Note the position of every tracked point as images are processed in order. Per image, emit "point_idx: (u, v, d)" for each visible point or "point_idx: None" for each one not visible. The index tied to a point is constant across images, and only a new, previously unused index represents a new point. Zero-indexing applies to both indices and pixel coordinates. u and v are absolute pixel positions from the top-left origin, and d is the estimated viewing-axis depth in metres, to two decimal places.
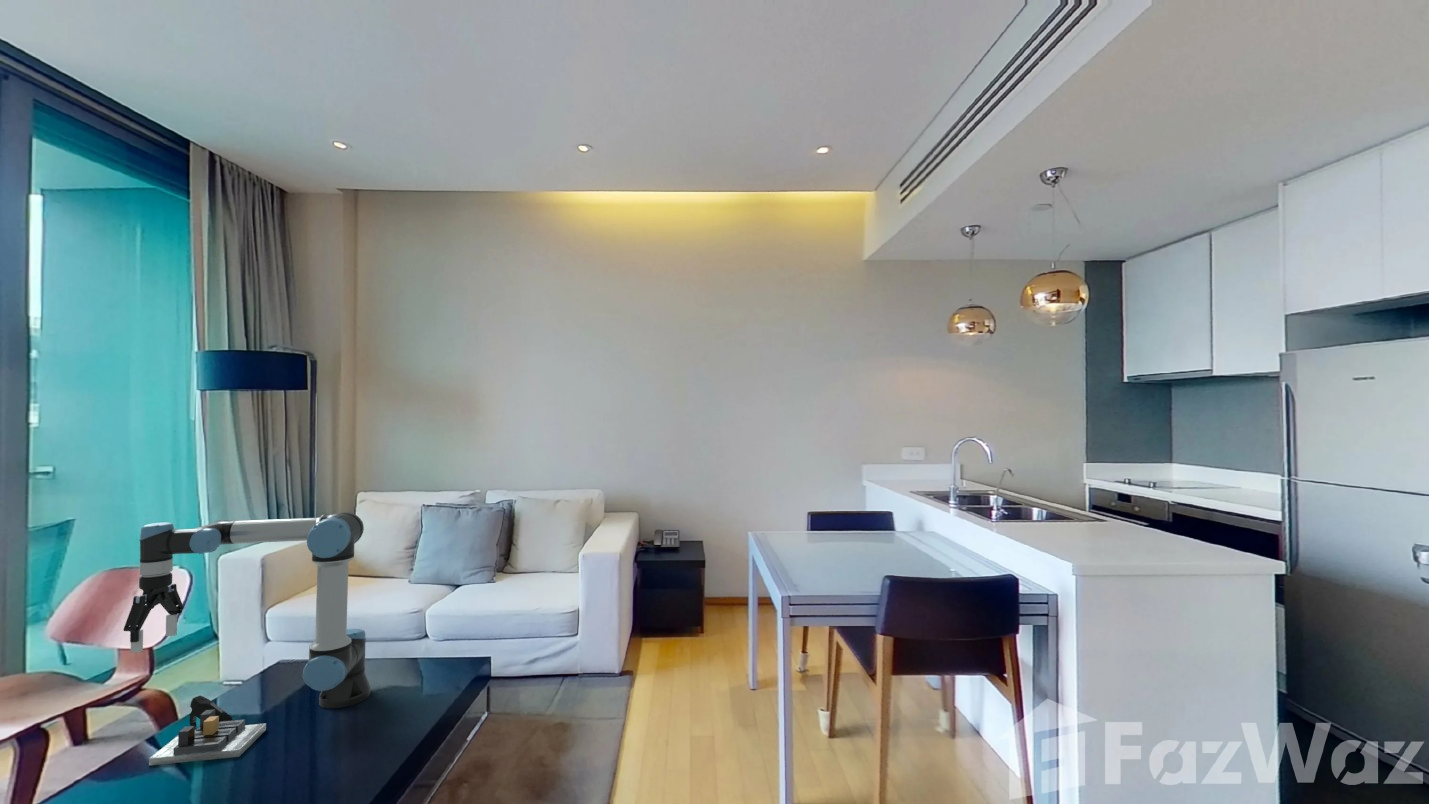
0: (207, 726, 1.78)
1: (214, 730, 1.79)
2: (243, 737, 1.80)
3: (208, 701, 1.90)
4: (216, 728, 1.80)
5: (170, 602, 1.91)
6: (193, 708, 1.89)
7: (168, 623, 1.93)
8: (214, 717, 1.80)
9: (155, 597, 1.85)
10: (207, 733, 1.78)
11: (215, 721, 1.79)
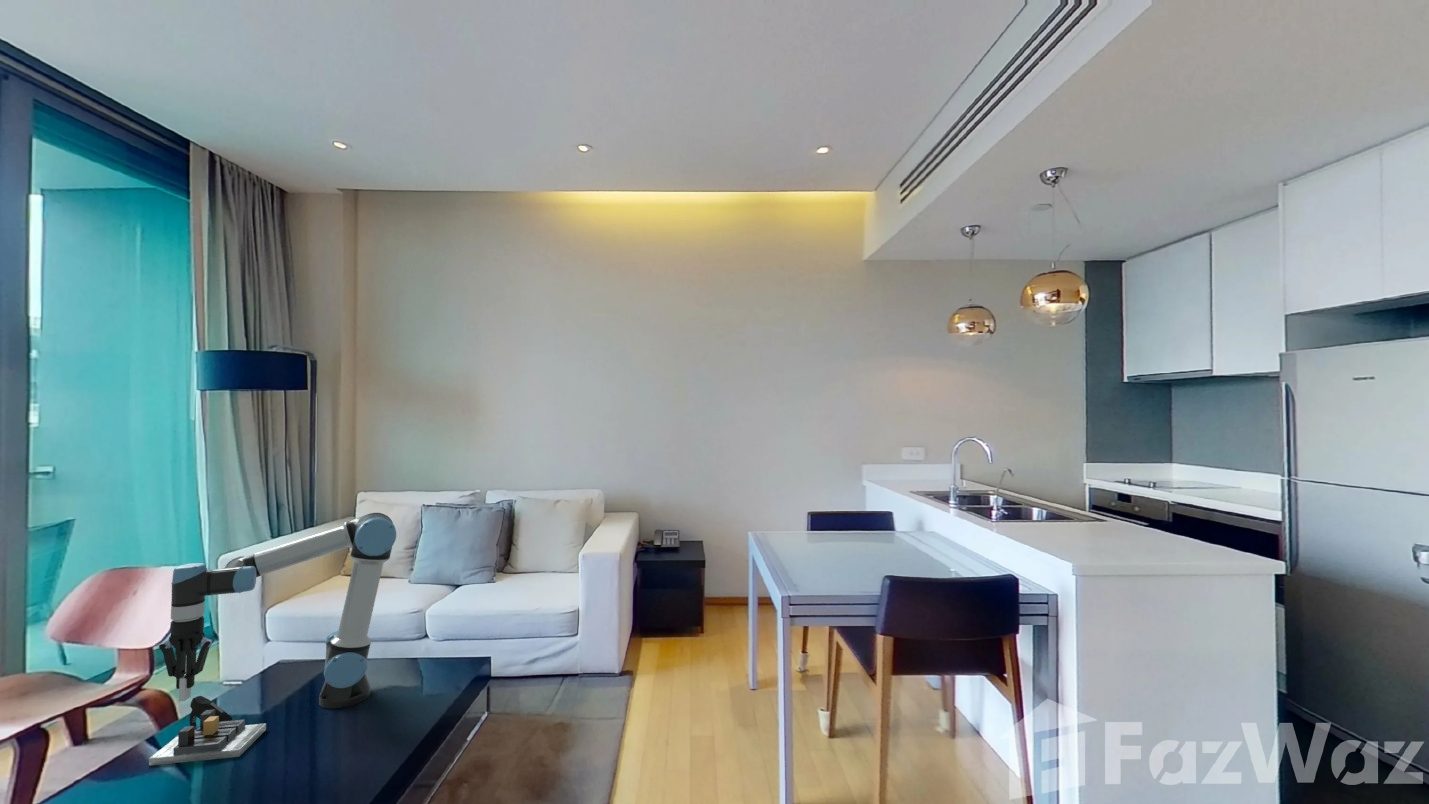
0: (207, 726, 1.78)
1: (214, 730, 1.79)
2: (243, 737, 1.80)
3: (208, 701, 1.90)
4: (216, 728, 1.80)
5: (188, 657, 1.77)
6: (193, 708, 1.89)
7: None
8: (214, 717, 1.80)
9: None
10: (207, 733, 1.78)
11: (215, 721, 1.79)
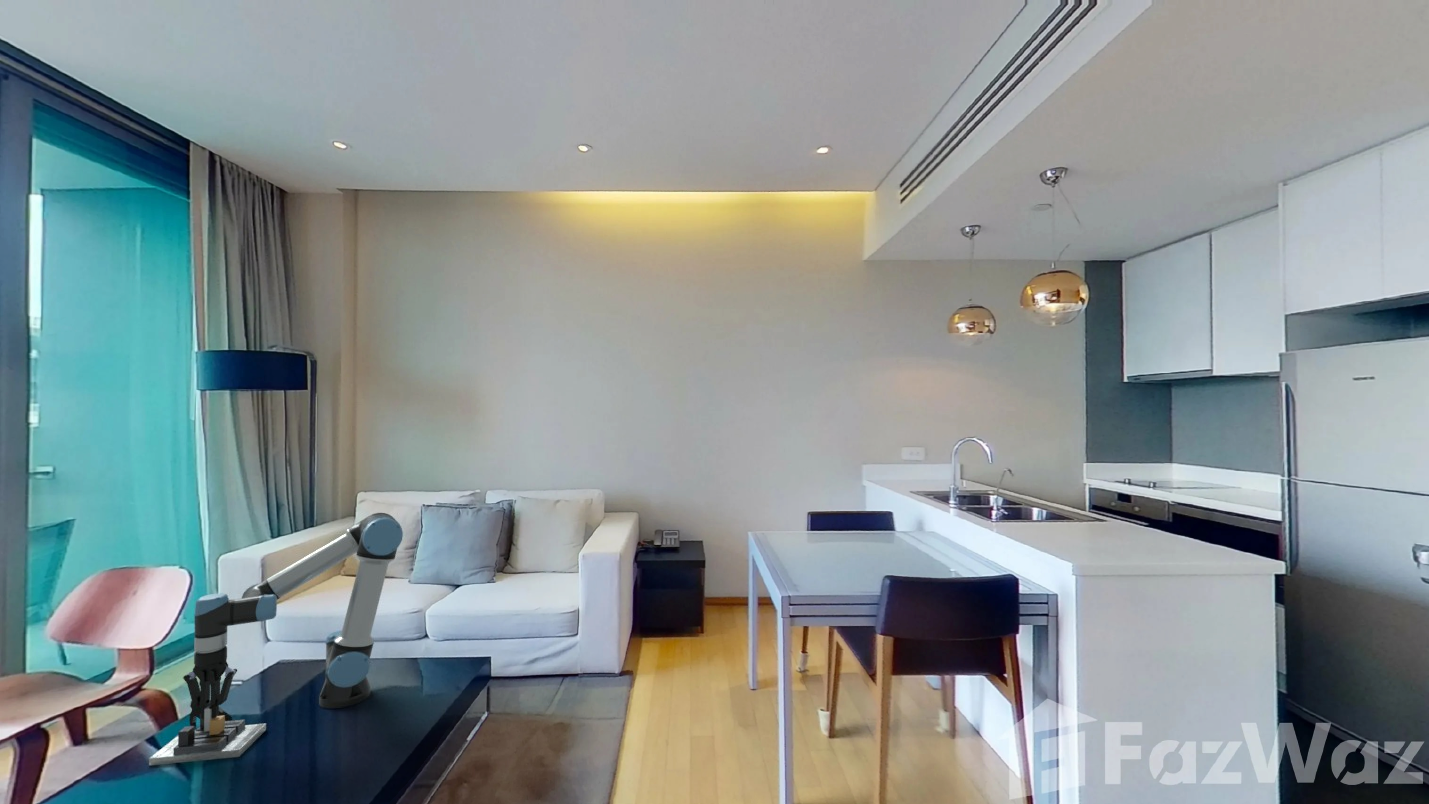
0: (213, 725, 1.78)
1: (220, 729, 1.79)
2: (243, 737, 1.80)
3: None
4: (222, 727, 1.80)
5: (212, 688, 1.78)
6: (193, 708, 1.89)
7: None
8: (220, 716, 1.80)
9: None
10: (213, 732, 1.78)
11: (221, 720, 1.79)
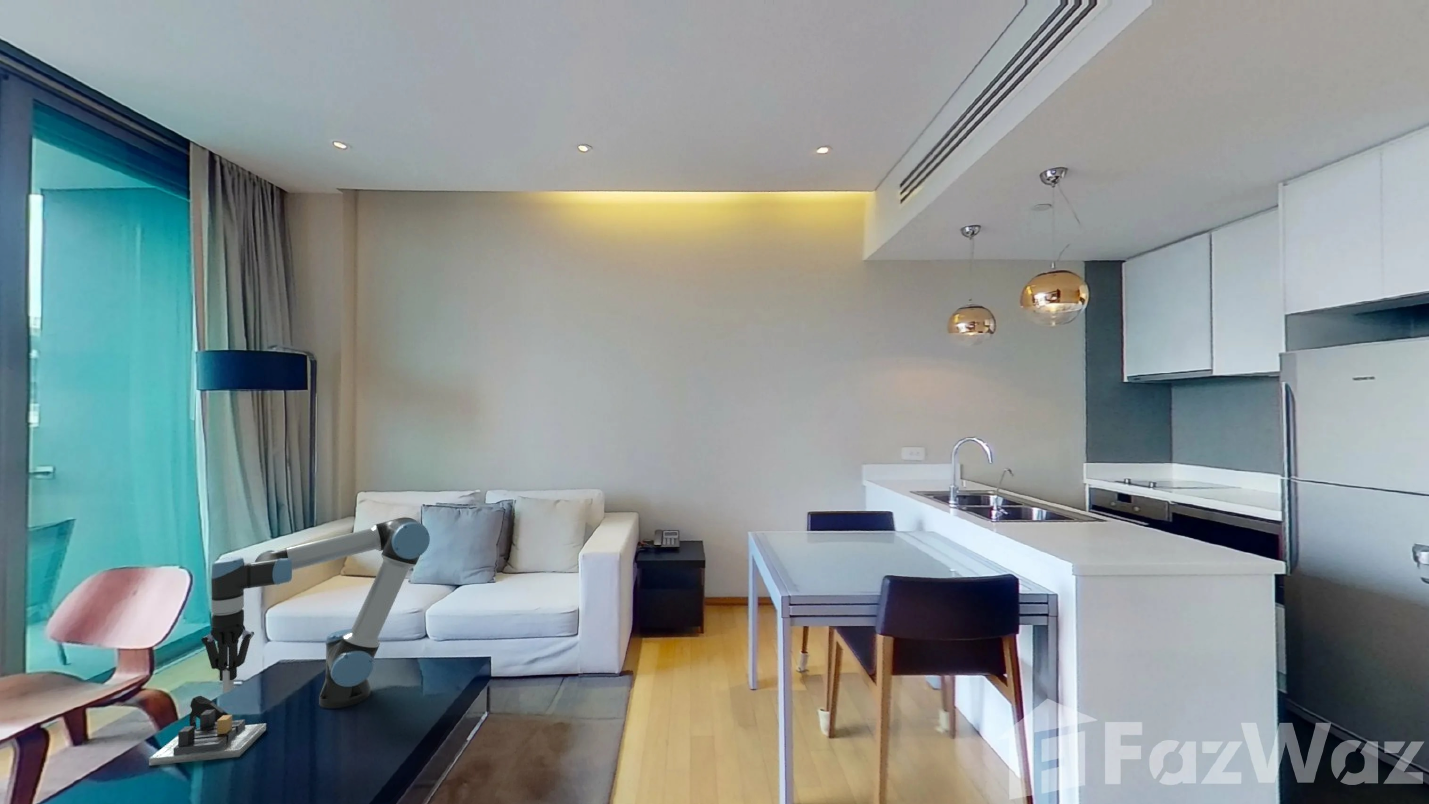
0: (221, 725, 1.78)
1: (228, 729, 1.79)
2: (243, 737, 1.80)
3: (208, 701, 1.90)
4: (230, 727, 1.80)
5: (230, 650, 1.79)
6: (193, 708, 1.89)
7: None
8: (228, 716, 1.81)
9: None
10: (221, 732, 1.78)
11: (228, 719, 1.80)
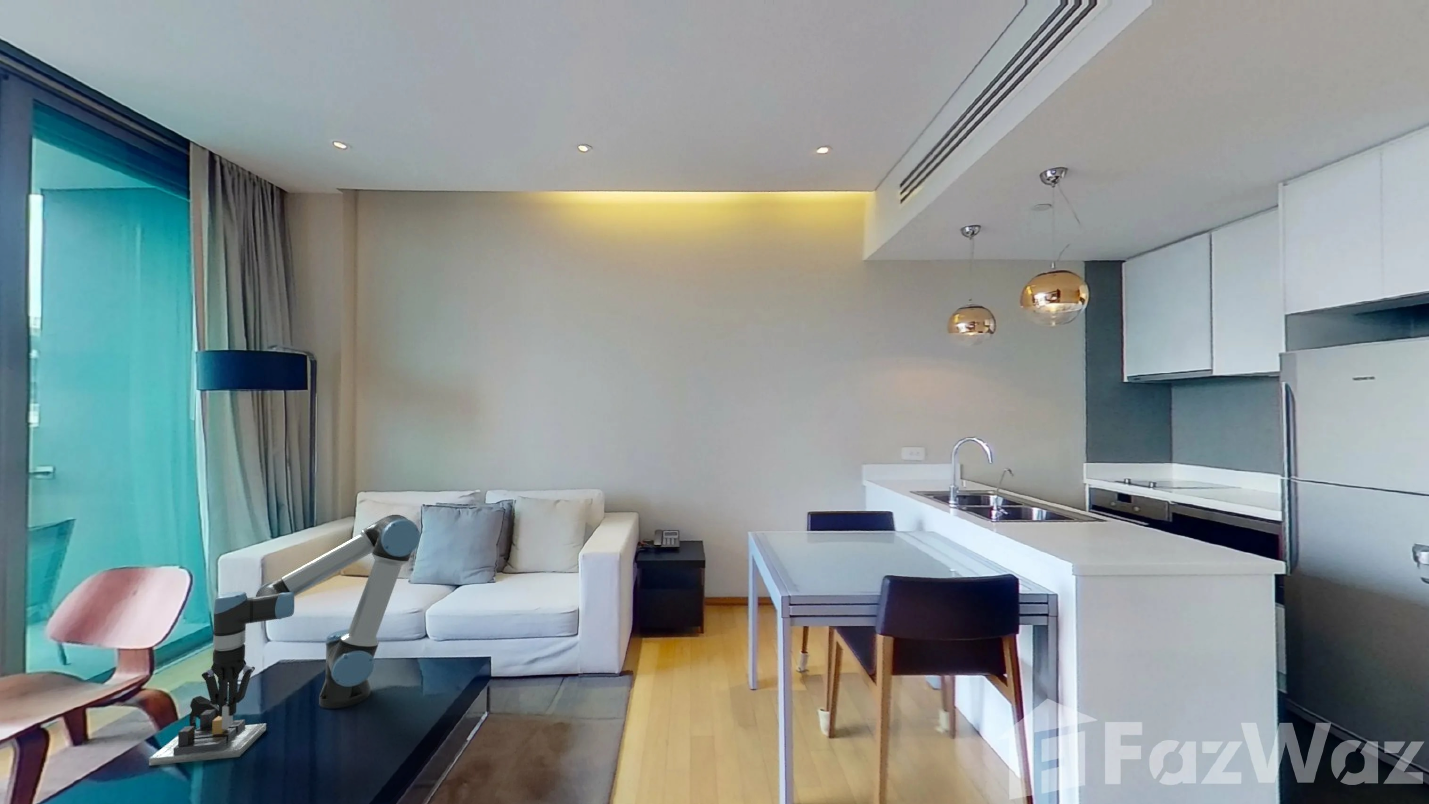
0: (216, 725, 1.78)
1: (223, 729, 1.79)
2: (243, 737, 1.80)
3: (208, 701, 1.90)
4: None
5: (230, 685, 1.79)
6: (193, 708, 1.89)
7: None
8: None
9: None
10: (216, 732, 1.78)
11: None
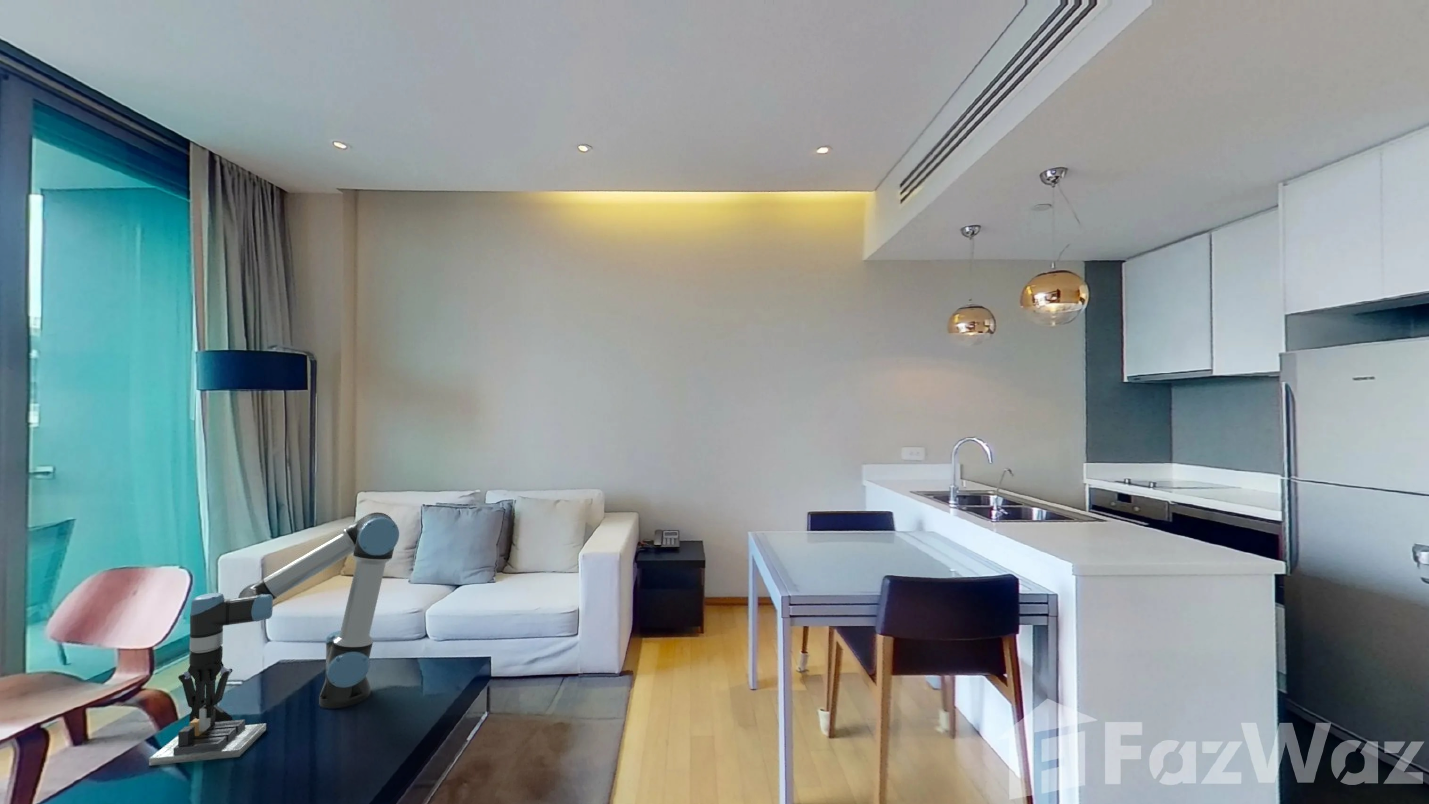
0: None
1: (200, 731, 1.78)
2: (243, 737, 1.80)
3: None
4: None
5: (208, 687, 1.78)
6: (193, 708, 1.89)
7: None
8: None
9: None
10: None
11: None
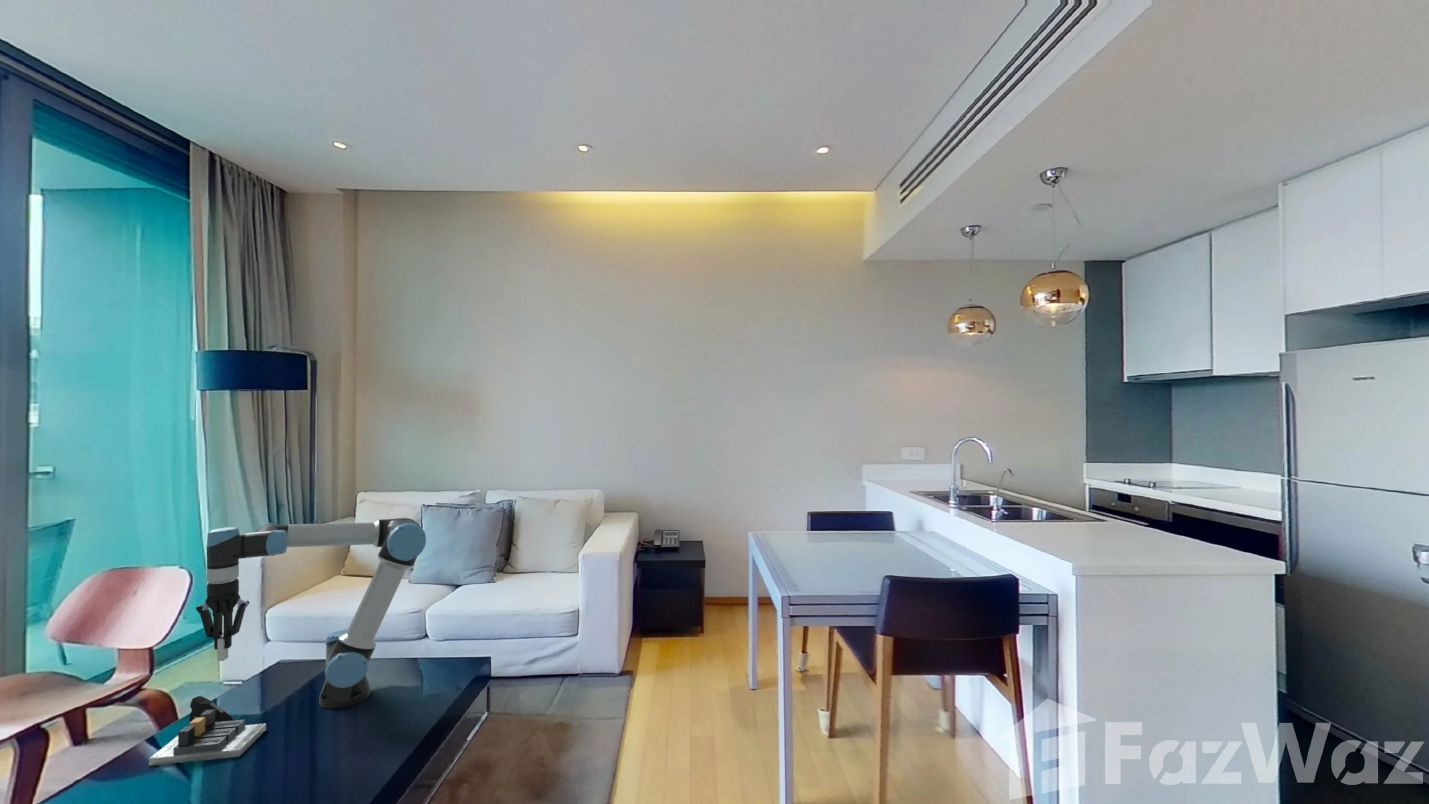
0: None
1: (200, 731, 1.78)
2: (243, 737, 1.80)
3: (208, 701, 1.90)
4: (202, 729, 1.79)
5: (225, 618, 1.81)
6: (193, 708, 1.89)
7: None
8: (200, 718, 1.79)
9: None
10: None
11: (201, 722, 1.78)
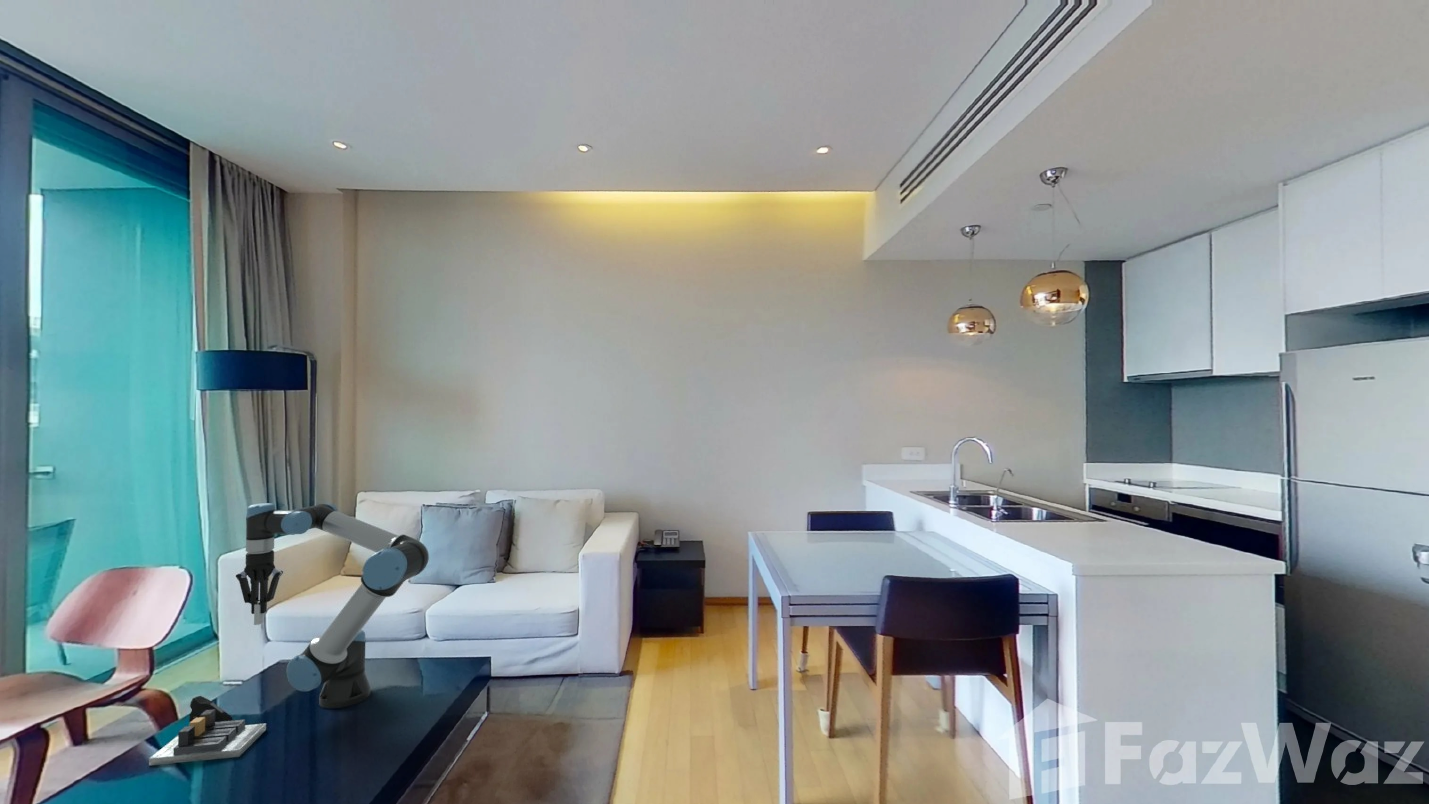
0: None
1: (200, 731, 1.78)
2: (243, 737, 1.80)
3: (208, 701, 1.90)
4: (202, 729, 1.79)
5: (261, 586, 1.98)
6: (193, 708, 1.89)
7: None
8: (200, 718, 1.79)
9: None
10: None
11: (201, 722, 1.78)
